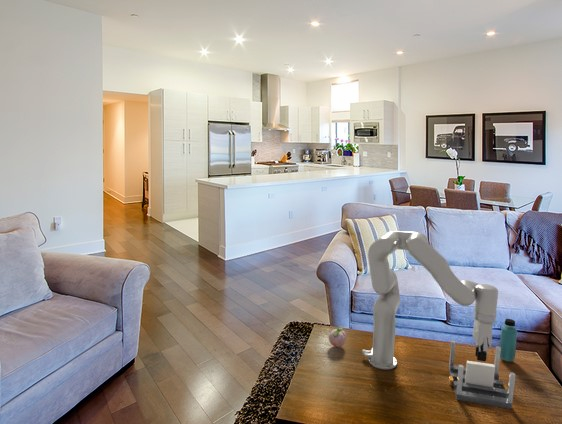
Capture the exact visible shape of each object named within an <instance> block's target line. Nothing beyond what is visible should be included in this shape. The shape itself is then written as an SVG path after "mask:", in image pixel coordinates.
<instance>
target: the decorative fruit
mask: <svg viewBox="0 0 562 424" xmlns="http://www.w3.org/2000/svg"><path fill="white" fill-rule="evenodd" d="M346 340H347V334H346V332H345V330H344V328H343V327H338V328H335V329H332V330H331V331H330V333H329V335H328V341H329V343H330V344H331V345H332V346H333V347H335V348H341V347H342V346H344V344H345V342H346Z"/></svg>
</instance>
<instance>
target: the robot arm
mask: <svg viewBox="0 0 562 424" xmlns="http://www.w3.org/2000/svg"><path fill="white" fill-rule="evenodd" d="M398 250H400V251H401V250H403V251H406V252H407V253H408V254H409V255H410V256H411V257H412V258H413V259H414V260H415V261H417V263H418V264H420V265H421V266H422V267H423V268H424V269H425V270H426V271H427V272H428V273H429V274H430V276H431V277H432V278H433V280H434V281H435V282H436V283H437V284H438V286H439V287H440V288H441V289H442V291H444V292H443V293H445V294H446V295H448V297H449V298H451V299H452V300H453V301H454V302H455V303H456V304H458V305H461V306H463V307H469V306H471V305H473V303H474V311H473V319H474V322H473V327H472V328H473V329H472V338H473V340H474V342H475V344H476V345H475V357H476V361H477V362H479V361H480V362H486V361H487V354H488V348H491V346H492V342H493V324H495V323H496V319H497V307H498V301H499V300H498V298H499V289H498V288H497V287H496V286H494V285H490V284H481V283H478V282H474V281H472V280H468V279H463V280H460V279H459V278H458V277H457V276H456V275H455V274H454V272H453V271H452V268H451V266H450V264H449V262H448V261H447V259H446V258H445V257H444V256H443V255H442V254H441V253H439V252H438V251H437V250H436V249H435V248H434V247H433V246H432V245H431V244H429V239H428V236H426V234H424V233H422V232H417V231H398V230H389V231H387V232H386V233H384V234H383V235H381V237H378V239H376V240H375V241H373V243H371V245H370V246H369V247H368V250H367V251H368V253H367V258H368V265H369V273H370V281H371V287H372V290H373V291H374V292H375V293H376V294H377V295H378V297H377V298H376V300H375V302H374V304H373V307H372V316H373V326H372V329H373V330H372V348H371V349H369V350H366V349H362V352H361V353H362V355H364V357H366V358H368V363H369V364H370V365H371V366H372V367H374V368H376V369H380V370H392V369H394V368H396V367H397V365H398V360H397V359H396V357H394V356H395V355H394V354H395V337H396V313H397V310H398V309H399V306H400V304H401V295H400V289H399V282H398V276H397V275H396V273H395V271H394V270H392V269H391V268H390V263H389V260H388V257H389V256H390V255H392V254H393V253H395V252H396V251H398Z"/></svg>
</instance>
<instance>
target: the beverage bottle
mask: <svg viewBox="0 0 562 424" xmlns="http://www.w3.org/2000/svg"><path fill="white" fill-rule="evenodd" d="M515 326H516V321H515V320H514V319H511V318H505V320H504V325H503V326H501V332H500V338H499V339H500V341H499V346H498V347H500V348H501V353H500V360H501V359H502V360H504V361H506V362H513V361H514V360H515V359H516V350H517V349H516V348H517V337H518V330H517V328H516V327H515Z"/></svg>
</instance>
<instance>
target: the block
mask: <svg viewBox="0 0 562 424" xmlns="http://www.w3.org/2000/svg"><path fill="white" fill-rule="evenodd" d="M465 365H466V366H465V367H466V374H465V383H469V384H475V385H481V386H488V387H493V384H494V374H495V366H494V363H486V362H481V361H480V362H479V361H471V360H466V364H465Z"/></svg>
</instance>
